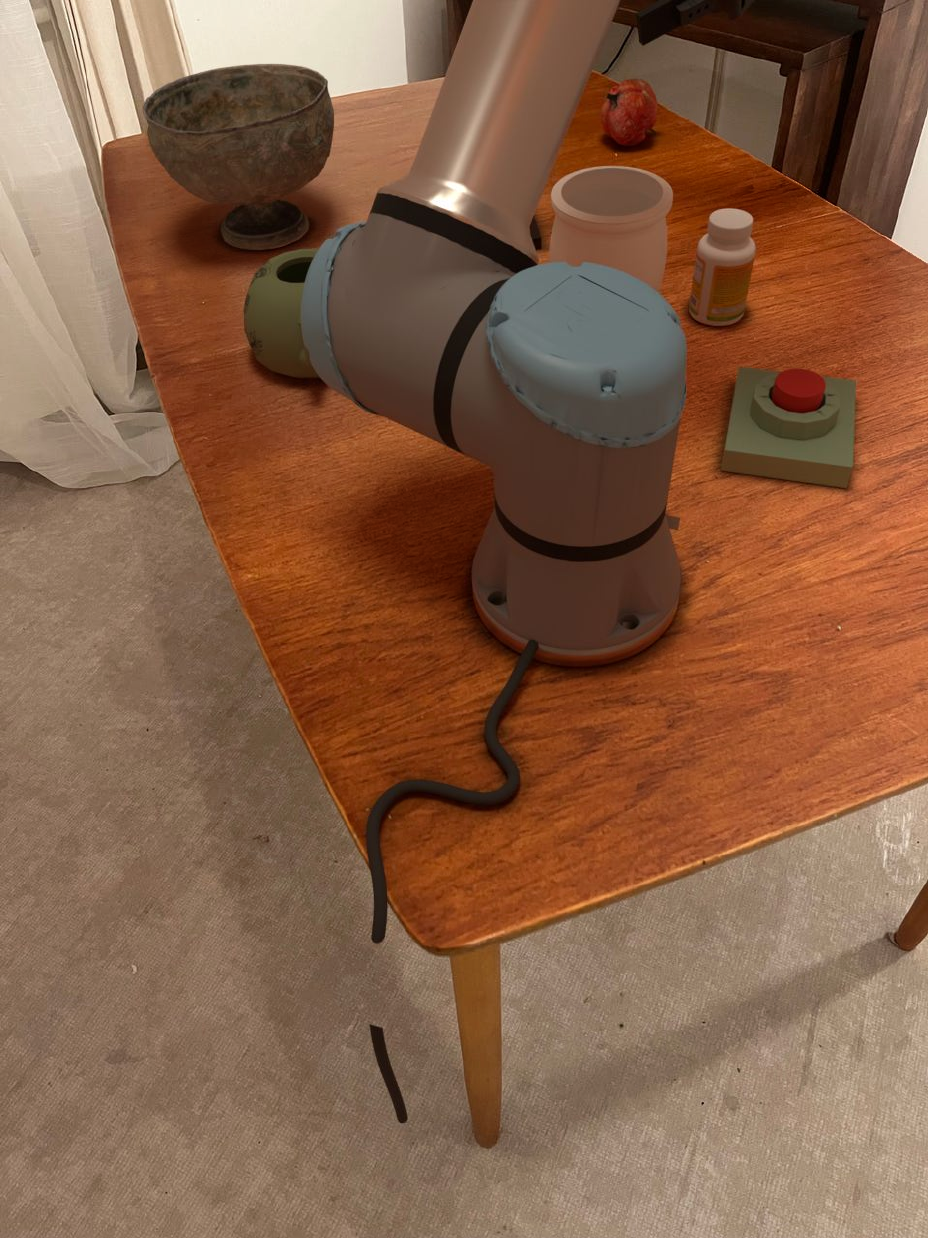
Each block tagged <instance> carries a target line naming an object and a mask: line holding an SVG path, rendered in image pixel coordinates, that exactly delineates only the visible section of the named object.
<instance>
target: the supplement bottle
mask: <svg viewBox="0 0 928 1238" xmlns="http://www.w3.org/2000/svg"><path fill="white" fill-rule="evenodd" d="M753 225H754V217H753V216H752V214H751V213H749V212H748V211H746V210H743V209H739V208H731V207H730V208H729V207H728V208H721V209H717V210H714V211H713V212H711V214H710V215H709V217H708V222H707V233H706V234H704V235H703V236H702V237H701V238H700V239H699V241H698V243H697V247H696V252H695V253H696V254H695V262H694V267H693V268H694V269H693V275H692V283H691V288H690V297H689V303H688V304H689V306H688V310H689V314H690V316H691V317H692V318H693V320H695V321H697V322H698V323H701V324H704V325H707V326H713V327H724V326H731V325H733V324H735V323H737V322H739V321H740V320H741V319H742V318H743V316H744V314H745V311H746V305H747V300H748V294H749V289H750V284H751V278H752V273H753V267H754V263H755V262H754V261H755V258H756V257H755V256H756V250H757V249H756V248H757V247H756V243H755V241H754V239H753V238H752V237H751V236H752V232H753Z"/></svg>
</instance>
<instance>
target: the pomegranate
mask: <svg viewBox="0 0 928 1238" xmlns="http://www.w3.org/2000/svg"><path fill="white" fill-rule="evenodd" d="M657 121H658V101H657V95H656V93H655V92H654V89H653V88H652V86H651V84H650V83H649V82H648V81H645V80H644V79H643V78H640V79H639V78H630V79H624V80H623V81H622V82H621V83H620V84H616V85H614V86H612V87H611V88H610V90H609V93H606V95H605V101H604V102H603V104H602V105H601V111H600V123H601V125H602V129H603V131H604V133H605V134H606V135H607V137H609V138H611V139H613V140H614V141H615V142H616V143H617V144H618V145H621V146H623V147H635V146H636V145H638V144H641V143H642V142H643V141H644V140H645V138H646V131H650V132H652V133H653V134H655V135H657V133H658V132H657V131H656V130H654V128H653V127H654V126H655V125H656V123H657Z"/></svg>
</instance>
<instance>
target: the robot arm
mask: <svg viewBox="0 0 928 1238" xmlns="http://www.w3.org/2000/svg"><path fill="white" fill-rule="evenodd" d="M754 2H755V0H658V1H656V2H654V3H652V4H650V5H649V6H647V7H644V8H643V9H641V10H639V11H638V12H636V13H635V16H636V17H635V18H636V24H637V35H638V43H639V44H640V45H641V46H642V47H644V46H647V44H650V43H651V42H654V41H655V40H657V39H659V38H661V37H662V36H665V35H667V34H668V33H670V32H672V31H674V30H675V29H678V28H679V27H684V26H688V25H690V24H692V23H693V22H696V21H697V20H699V19H701V18H703V17H705V16H707V15H708V14H710V13H712V14H720V13H722V12H723V13H725V14H726V17H727V19H728V20H731V21H735V20H737V19H739V18H741V17H742V15H744V13H745V12H746V11H747V10H748V8H749V7H750V6H751V5H752V4H753V3H754ZM620 3H621V0H472V2H471V5H470V8H469V10H468V13H467V16H466V17H465V21H464V24H463V27H462V30H461V32H460V35H459V37H458V40H457V43H456V46H455V49H454V51H453V54H452V56H451V59H450V62H449V65H448V67H447V70H446V73H445V76H444V78H443V80H442V84H441V86H440V89H439V92H438V95H437V97H436V100H435V103H434V105H433V108H432V110H431V113H430V116H429V119H428V122H427V124H426V127H425V129H424V132H423V135H422V138H421V140H420V142H419V146H418V148H417V151H416V154H415V157H414V160H413V162H412V165H411V167H410V170H409V172H408V173H407V174H405V175H404V176H403V177H401V178H399V179H397V180H394V181H392V182H390V183H388V184H385V185H383V186H381V187H379V188H378V190H377V192H376V194H375V197H374V200H373V204H372V205H371V209H370V211H369V213H368V216H367V219H366V221H359V222H354V223H349V224H346V225H343V226H341V227H340V228H339V229H337V230H336V231H335V232H334V236H333V238H326V239H325V240H324V242H323V243H322V244H321V245H320V247H319V248H318V249H319V250H318V251H317V253H316V255H315V256H314V258H313V260H312V263H311V265H310V267H309V270H308V273H307V276H306V279H305V283H304V287H303V294H302V300H301V329H302V336H303V341H304V344H305V346H306V348H307V349H308V351H309V357H310V362H311V364H312V366H313V368H314V369H315V371H316V373H317V374H318V375H319V377H320V378H319V379H320V380H322V382H324V384H325V385H326V386H328V388H330V389H331V390H333V391H334V392H336V393H337V394H339V395H342V396H343V397H345V398H346V399H348V400H350V401H352V402H353V403H354V404H355V405H356V406H357V407H358V408H360V409H361V410H362V411H365V412H366V413H369V414H373V415H376V416H380V417H384V418H386V419H388V420H390V421H392V422H394V423H396V424H398V425H401V426H403V427H404V428H406V429H409V430H411V431H413V432H415V433H417V434H420V435H421V436H423V437H426V438H428V439H430V440H431V441H433V442H437V443H438V444H441V445H443V446H445V447H446V448H449V449H451V450H453V451H455V452H458V453H460V454H462V455H464V456H466V457H467V458H470V459H472V460H474V461H476V462H479V464H483V465H485V466H486V467H488V468H489V470H490V471H492V474H493V492H494V493H493V494H494V496H493V498H494V507H493V510H492V511H491V514H490V516H489V519H488V521H487V524H486V526H485V529H484V531H483V534H482V536H481V539H480V541H479V544H478V547H477V548H476V552H475V554H474V557H473V560H472V566H471V587H472V589H471V590H472V599H473V603H474V607H475V610H476V612H477V614H478V616H479V618H480V620H481V621H482V623H483V624H484V626H485V627H486V629H488V631H489V632H490V633H491V634H492V635H493V636H494V637H495V638H496V639H497V640H498V641H499V642H501V643H502V644H504V645H505V646H507V647H508V648H510V649H511V650H513V651H514V652H517V653H518V654H521V655H520V656H519V659H518V660H517V663H516V664H515V666H514V668H513V670H512V672H511V674H510V675H509V678H508V679H507V682H506V683H505V685H504V687H503V688H502V690H501V691H500V693H499V694H498V695H497V697H496V698H495V700H494V702H493V703H492V705H491V706H490V708H489V711H488V713H487V714H486V718H485V721H484V727H483V731H484V735H483V736H484V739H485V743H486V746H487V747H488V749H489V751H490V753H491V755H492V756H493V757H494V758H495V760H496V761H497V762H498V763H499V765H500V766H501V767H502V768H503V769H504V772H505V773H506V775H507V779H506V782H505V783H504V785H502V786H501V787H500V788H499V789H495V790H494V791H488V792H487V791H485V792H484V791H475V790H470V789H466V788H462V787H458V786H455V785H453V784H448V783H444V782H441V781H436V780H430V779H425V778H424V779H423V778H417V779H413V778H412V779H406V780H404V781H400V782H397V783H396V784H394V785H392V786H391V787H389V788H387V790H385V791H384V792H383V793H382V794H381V795H380V796H379V797H378V799H377V800H376V801H375V803H374V804H373V805H372V807H371V810H370V812H369V814H368V817H367V822H366V827H365V838H366V839H365V840H366V841H365V842H366V852H367V858H368V859H367V860H368V865H369V871H370V877H371V885H372V893H373V914H372V915H373V917H372V927H371V936H370V940H371V941H372V943H373V944H376V945H379V944H381V943H383V941H384V940H385V938H386V934H387V933H386V932H387V923H388V906H389V905H388V903H389V901H388V889H387V888H388V887H387V880H386V873H385V867H384V862H383V856H382V855H383V854H382V849H381V842H380V828H381V822H382V819H383V817H384V814H385V813H386V811H387V810H388V809H389V807H390V806H391V805H392V804H393V803H394V802H395V801H396V800H397V799H398V798H400V797H401V796H403V795H406V794H410V793H426V794H432V795H436V796H440V797H445V798H448V799H451V800H455V801H458V802H462V803H465V804H466V803H467V804H471V805H477V806H491V805H497V804H500V803H503V802H506V801H508V800H509V799H510V798H511V797H512V796H513V795H514V794H515V793H516V792H517V790H518V789H519V787H520V784H521V771H520V769H519V767H518V765H517V763H516V762H515V760H514V759H513V758H512V756H511V755H510V754H509V753H508V751H507V750H506V749H505V748H504V746H503V745H502V744H501V742H500V740H499V738H498V734H497V729H498V727H497V726H498V723H499V720H500V718H501V716H502V714H503V712H504V710H505V709H506V707H507V706H508V704H509V703H510V701H511V700H512V699H513V696H515V694H516V692H517V690H518V688H519V686H520V684H521V683H522V681H523V679H524V677H525V675H526V673H527V671H528V669H529V667H530V665H531V663H532V661H533V660H535V661H539V662H541V663H546V664H550V665H555V666H562V667H574V668H575V667H581V668H583V667H597V666H602V665H608V664H612V663H616V662H620V661H622V660H625V659H627V658H630V657H632V656H635V655H637V654H638V653H640V652H642V651H644V650H646V649H647V648H649V647H650V646H652V644H654V643H655V642H656V641H658V640H659V639H660V637H661V636H663V634H664V633H665V632H666V630H667V629H668V628H669V627H670V625H671V623H672V622H673V620H674V617H675V615H676V613H677V610H678V605H679V601H680V595H681V590H682V589H681V588H682V582H683V581H682V580H683V579H682V568H681V564H680V561H679V557H678V553H677V549H676V547H675V543H674V540H673V536H672V532H671V530H673V531H679V529H680V528H679V527H680V522H681V517H679V516H674V515H669V514H666V512H667V506H668V505H667V504H668V499H669V493H670V486H671V481H672V474H673V468H674V462H675V455H676V449H677V445H678V437H679V432H680V424H681V417H682V413H683V411H684V409H685V406H686V399H687V391H688V387H687V361H688V360H687V359H688V343H687V336H686V334H685V331H684V330H683V329H682V323H681V319H680V317H679V315H678V314H677V312H676V310H675V309H674V308H673V306H672V305H671V304H670V302H669V301H668V300H667V298H665V297H664V296H663V295H662V294H661V293H660V291H659V292H657V291H656V290H655V289H654V288H652V287H651V286H650V285H648V284H647V283H645V282H643V281H642V280H640V279H638V278H636V277H634V276H632V275H630V274H628V273H625V272H623V271H620V270H617V269H615V268H611V267H608V266H604V265H599V264H594V263H588V262H582V263H581V265H580V266H579V267H573V266H570V265H569V264H568V263H567V262H552V263H549V262H545V263H541V264H539V263H540V259H539V255H538V253H537V249H535V247H534V244H533V241H532V238H531V236H530V228H529V226H530V223H531V221H532V218H533V216H535V214H536V212H537V208H538V206H539V204H540V201H541V198H542V197H543V193H544V191H545V189H546V187H547V184H548V181H549V179H550V176H551V174H552V171H553V169H554V166H555V164H556V161H557V158H558V156H559V153H560V152H561V149H562V146H563V144H564V141H565V138H566V137H567V134H568V132H569V129H570V127H571V124H572V121H573V119H574V117H575V114H576V111H577V109H578V106H579V104H580V101H581V100H582V97H583V95H584V92H585V89H586V87H587V84H588V82H589V79H590V77H591V74H592V72H593V69H594V67H595V65H596V62H597V59H598V56H599V54H600V52H601V50H602V47H603V44H604V42H605V39H606V37H607V35H608V33H609V29H610V28H611V25H612V22H613V19H614V17H615V15H616V12H617V10H618V7H619V5H620ZM368 1026H369V1032H370V1038H371V1043H372V1047H373V1053H374V1055H375V1059H376V1063H377V1065H378V1069H379V1071H380V1074H381V1077H382V1079H383V1081H384V1084H385V1086H386V1089H387V1092H388V1094H389V1097H390V1099H391V1102H392V1105H393V1109H394V1112H395V1116H396V1119H397V1121H398V1122H399V1123H400V1124H402V1125H403V1124H406V1123H407V1121H408V1119H409V1117H408V1112H407V1108H406V1104H405V1101H404V1097H403V1094H402V1091H401V1089H400V1086H399V1083H398V1081H397V1077H396V1075H395V1072H394V1069H393V1068H392V1063H391V1060H390V1057H389V1053H388V1048H387V1045H386V1040H385V1033H384V1028H383V1027H382V1026H377V1025H373V1024H369V1025H368Z"/></svg>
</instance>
